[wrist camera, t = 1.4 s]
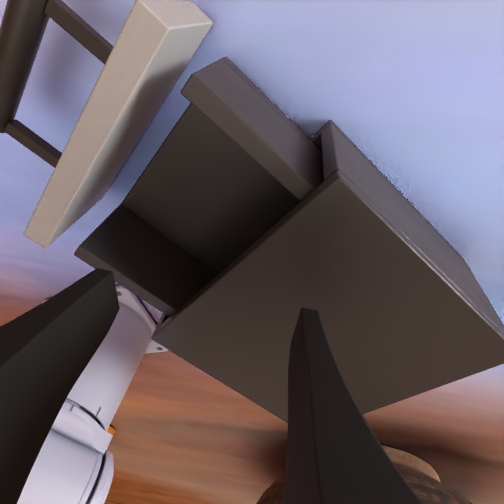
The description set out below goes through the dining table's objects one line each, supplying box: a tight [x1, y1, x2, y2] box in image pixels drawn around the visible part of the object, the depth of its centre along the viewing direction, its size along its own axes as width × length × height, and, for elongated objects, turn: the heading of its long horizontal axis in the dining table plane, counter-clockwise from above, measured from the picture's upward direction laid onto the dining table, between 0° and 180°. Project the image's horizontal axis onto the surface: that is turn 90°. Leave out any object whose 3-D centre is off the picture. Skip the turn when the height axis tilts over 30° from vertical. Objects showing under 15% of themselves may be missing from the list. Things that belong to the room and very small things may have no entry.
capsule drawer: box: [0, 0, 324, 317], centre depth 16 cm, size 16×12×6 cm
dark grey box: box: [151, 120, 504, 423], centre depth 20 cm, size 12×13×7 cm
